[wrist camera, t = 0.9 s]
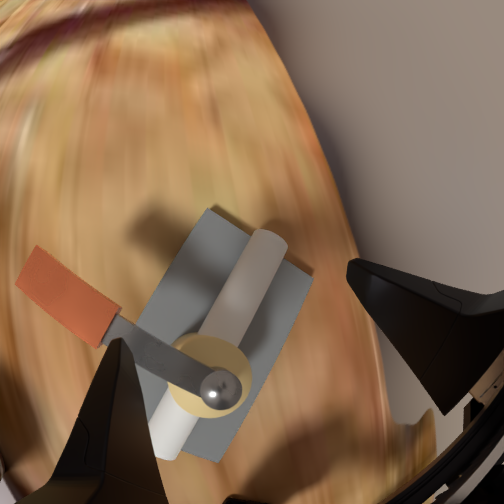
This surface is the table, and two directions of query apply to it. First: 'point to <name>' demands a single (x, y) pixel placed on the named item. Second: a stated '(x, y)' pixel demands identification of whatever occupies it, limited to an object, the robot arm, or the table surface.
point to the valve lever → (120, 330)
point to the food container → (1, 467)
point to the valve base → (194, 308)
